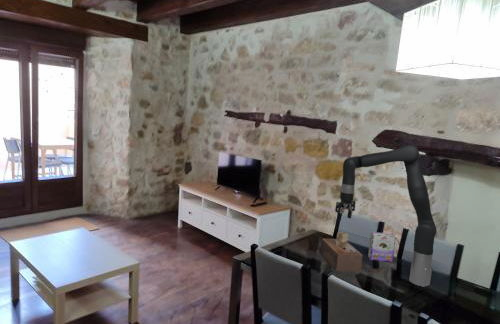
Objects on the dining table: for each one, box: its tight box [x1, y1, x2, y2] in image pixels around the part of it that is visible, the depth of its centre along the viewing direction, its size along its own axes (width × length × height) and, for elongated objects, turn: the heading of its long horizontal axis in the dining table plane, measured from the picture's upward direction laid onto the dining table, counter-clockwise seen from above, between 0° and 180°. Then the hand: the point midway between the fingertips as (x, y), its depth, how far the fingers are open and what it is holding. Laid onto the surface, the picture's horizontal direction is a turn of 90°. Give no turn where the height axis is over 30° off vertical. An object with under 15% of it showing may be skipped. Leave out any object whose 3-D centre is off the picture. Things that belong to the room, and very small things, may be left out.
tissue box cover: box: [320, 238, 364, 272], centre depth 210 cm, size 26×14×10 cm, turn 8°
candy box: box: [367, 231, 397, 263], centre depth 218 cm, size 14×6×16 cm, turn 84°
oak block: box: [336, 231, 349, 248], centre depth 208 cm, size 4×4×8 cm
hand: (344, 218), depth 207 cm, fingers open, 8 cm apart
